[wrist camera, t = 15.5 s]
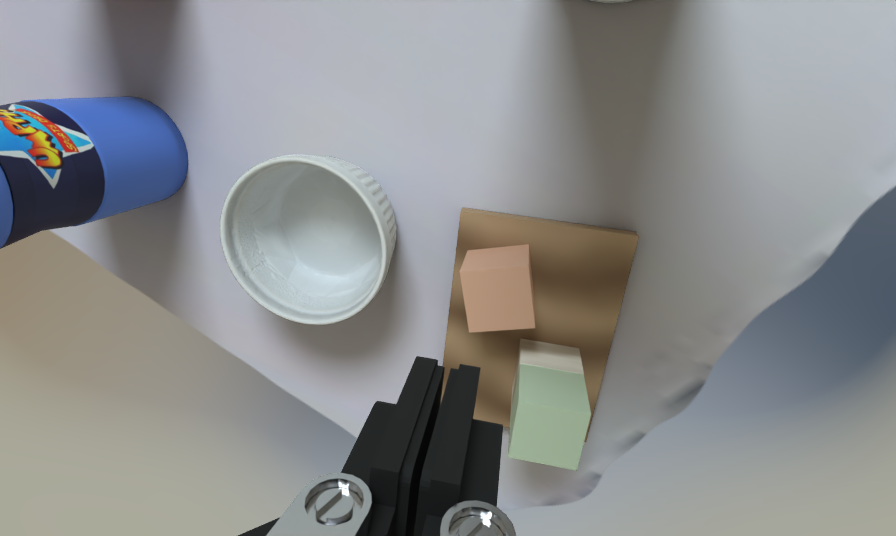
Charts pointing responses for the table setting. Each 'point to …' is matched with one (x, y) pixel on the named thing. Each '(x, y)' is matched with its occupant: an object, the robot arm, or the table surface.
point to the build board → (542, 305)
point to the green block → (549, 417)
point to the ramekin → (308, 237)
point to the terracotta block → (498, 289)
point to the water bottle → (83, 161)
